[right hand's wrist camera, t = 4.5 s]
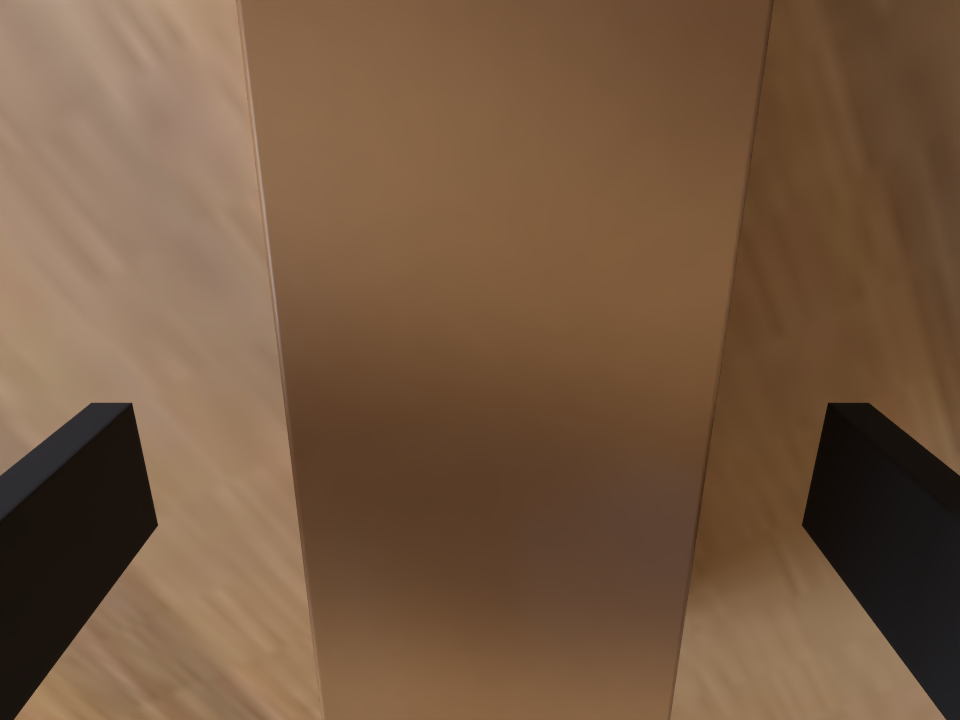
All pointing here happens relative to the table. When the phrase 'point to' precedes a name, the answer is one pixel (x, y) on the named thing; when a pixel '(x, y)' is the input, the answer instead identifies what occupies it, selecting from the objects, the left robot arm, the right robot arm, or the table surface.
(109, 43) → the table surface
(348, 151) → the post
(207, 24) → the table surface
